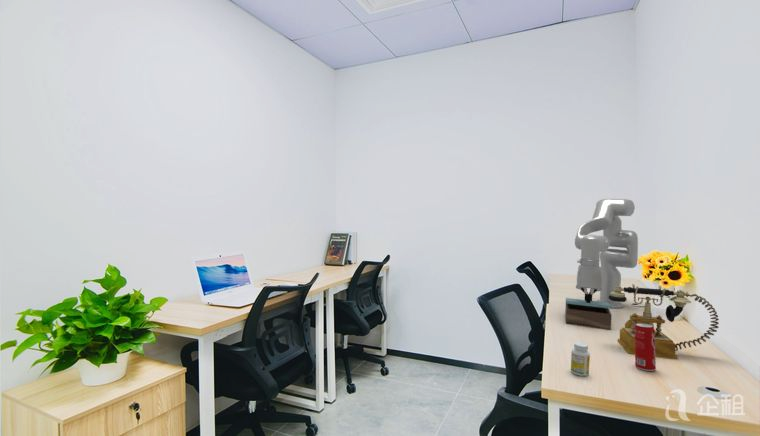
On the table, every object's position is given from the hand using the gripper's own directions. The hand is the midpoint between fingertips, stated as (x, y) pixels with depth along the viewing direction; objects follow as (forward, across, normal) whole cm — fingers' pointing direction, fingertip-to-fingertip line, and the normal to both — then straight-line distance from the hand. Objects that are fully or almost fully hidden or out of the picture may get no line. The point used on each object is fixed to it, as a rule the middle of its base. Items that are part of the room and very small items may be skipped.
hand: (588, 302), depth 175 cm
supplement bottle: (+11, -6, -59) cm, 60 cm away
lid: (+2, 0, +4) cm, 5 cm away
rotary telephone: (+11, +22, -21) cm, 33 cm away
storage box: (+10, 0, +4) cm, 11 cm away
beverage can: (+11, +14, -44) cm, 48 cm away
